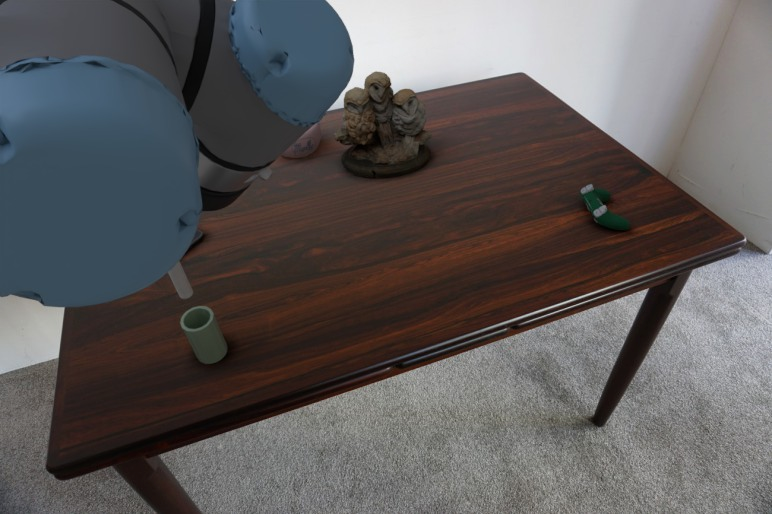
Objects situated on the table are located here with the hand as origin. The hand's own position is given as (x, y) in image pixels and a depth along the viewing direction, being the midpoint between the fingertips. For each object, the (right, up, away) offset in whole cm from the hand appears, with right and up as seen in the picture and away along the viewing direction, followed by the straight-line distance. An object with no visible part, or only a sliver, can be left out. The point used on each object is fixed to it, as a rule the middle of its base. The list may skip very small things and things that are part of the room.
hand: (141, 243), depth 58 cm
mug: (+9, +19, +45) cm, 50 cm away
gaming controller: (+62, +5, +28) cm, 69 cm away
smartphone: (-11, +2, +29) cm, 30 cm away
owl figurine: (+27, +17, +41) cm, 52 cm away
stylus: (+4, -6, +4) cm, 8 cm away
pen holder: (+4, -14, +11) cm, 18 cm away
